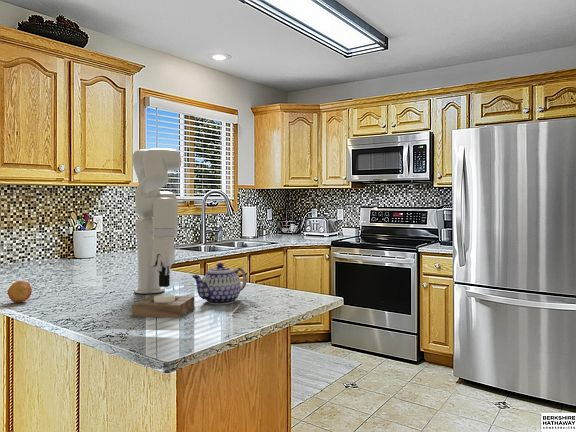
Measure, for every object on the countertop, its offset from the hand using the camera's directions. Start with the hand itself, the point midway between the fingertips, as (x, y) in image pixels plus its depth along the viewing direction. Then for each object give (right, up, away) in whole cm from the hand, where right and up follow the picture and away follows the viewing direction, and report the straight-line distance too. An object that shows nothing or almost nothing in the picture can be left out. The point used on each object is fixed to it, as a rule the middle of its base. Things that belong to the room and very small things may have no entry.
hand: (164, 286), depth 159 cm
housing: (0, -9, 0) cm, 9 cm away
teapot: (+17, -9, +17) cm, 26 cm away
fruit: (-62, -6, +21) cm, 66 cm away
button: (0, -7, -1) cm, 7 cm away
